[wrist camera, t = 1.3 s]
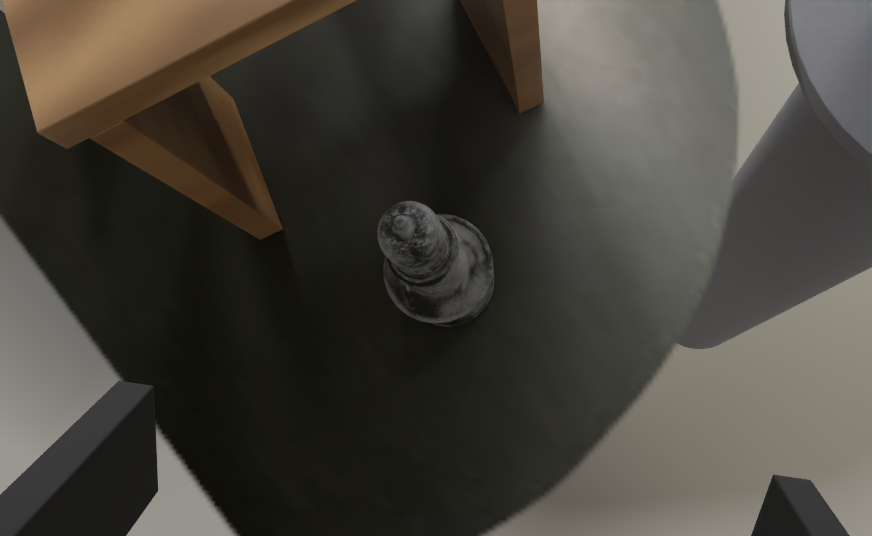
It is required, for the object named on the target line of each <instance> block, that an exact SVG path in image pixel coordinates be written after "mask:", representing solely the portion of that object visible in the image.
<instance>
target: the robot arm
mask: <svg viewBox="0 0 872 536" xmlns="http://www.w3.org/2000/svg"><path fill="white" fill-rule="evenodd" d="M156 453H157V452H156V427H155V402H154V386H151V385H144V384H137V383H130V382H123V381H118V382H117V383H116V384H115V385H114V386H113V387H112V388H111V389H110V390H109V391H108V392H107V393H106V394H105V395H104V396H103V397H102V398H101V399H100V400H98V401H97V402H96V403H95V404H94V405H93V406H92V407H91V408H90V409H89V410H88V411H87V412H86V413H85V414H84V415H83V416H82V417H81V418H80V419H79V420H78V421H77V422H76V423H74V424H73V425H72V426H71V427H70V428H69V429H68V430H67V431H66V432H65V433H64V434H63V435H62V436H61V437H60V438H59V439H58V440H57V441H56V442H55V443H54V444H53V445H52V446H51V447H50V448H48V449H47V450H46V451H45V452H44V453H43V455H41V456H40V457H39V458H38V459H37V460H36V461H35V462H34V463H33V464H32V465H31V466H30V467H29V468H28V469H27V470H26V471H25V472H24V473H22V474H21V476H19V477H18V478H17V479H16V480H15V481H14V482H13V483H12V484H11V485H10V486H9V487H8V488H7V489H6V490H5V491H4V492H3V493H2V494H1V495H0V536H126V535H127V533H128V532H129V531H130V529H131V528H132V526H133V525H134V524H135V522H136V521H137V520H138V518H139V517H140V515H141V514H142V513H143V511H144V510H145V508H146V507H147V505H148V504H149V503H150V501H151V500H152V498H153V497H154V496H155V494H156V493H157V491H158V478H157V454H156ZM751 536H849V534H848V533H847V532H846V530H845V529H844V527H843V526H842V524H841V523H840V522H839V520H838V519H837V517H836V516H835V514H834V513H833V512H832V510H831V509H830V508H829V506H828V504H827V503H826V502H825V500H824V499H823V497H822V496H821V494H820V493H819V492H818V490H817V489H816V488H815V486H814V484H813V483H812V482H811V481H810V480H806V479H799V478H792V477H785V476H778V475H773V477H772V479H771V483H770V485H769V488H768V491H767V493H766V496H765V499H764V502H763V505H762V508H761V510H760V513H759V516H758V519H757V521H756V524H755V527H754V530H753V532H752V535H751Z"/></svg>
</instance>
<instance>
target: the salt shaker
mask: <svg viewBox="0 0 872 536" xmlns="http://www.w3.org/2000/svg"><path fill="white" fill-rule="evenodd" d="M377 236H378V242H379V245H380V248H381V250H382V252H383V253H384V255H385V260H384V266H383V273H384V283H385V286H386V288H387V291H388V294H389V296H390V297H391V299H392V300H393V302H394V303H395V305H396V306H397V307H398V308H399V309H401V310H402V311H403V312H404V313H405V314H407V315H408V316H410V317H412V318H415V319H417V320H419V321H422V322H428V323H431V324H433V325H437V326H443V327H451V326H459V325H462V324H464V323H467V322H470V321H471V320H473V319H474V318H475V317H477V316H478V315H479V314H480V313H481V312H482V311H483V310H484V309H485V307H486V306H487V305H488V303H489V301H490V298H491V296H492V294H493V289H494V283H495V281H494V271H493V269H494V268H493V258H492V253H491V250H490V248H489V245H488V242H487V240H486V239H485V237H484V236H483V235H482V234H481V232H480V231H479V230H478V229H477V228H476V227H475V226H473V225H472V224H471V223H469V222H468V221H467V220H464V219H462V218H459V217H457V216H454V215H446V214H435V213H434V212H433V210H431V209H430V208H429V207H427V206H426V205H424V204H421V203H419V202H416V201H403V202H399V203H397V204H394V205H393V206H391V207H390V208H389V209H387V211H386V212H385V213H384V214H383V215H382V217H381V219H380V222H379V224H378V230H377Z"/></svg>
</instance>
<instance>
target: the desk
mask: <svg viewBox="0 0 872 536" xmlns="http://www.w3.org/2000/svg"><path fill="white" fill-rule="evenodd" d="M355 1H357V0H2V4H3V7H4V11H5V15H6V18H7V22H8V26H9V29H10V33H11V37H12V40H13V44H14V48H15V52H16V55H17V59H18V63H19V66H20V70H21V74H22V77H23V81H24V85H25V88H26V92H27V96H28V100H29V103H30V107H31V111H32V114H33V118H34V122H35V125H36V129H37V132H38V133H39V134H41V135H43V136H44V137H46V138H48V139H50V140H52V141H53V142H55V143H57V144H59V145H61V146H63V147H64V148H66V149H69V148H70V147H72V146H74V145H76V144H78V143H80V142H82V141H84V140H86V139H88V138H90V139H91V140H93V141H95V142H96V143H98V144H100V145H101V146H103V147H105V148H107V149H108V150H110V151H112V152H113V153H115V154H117V155H118V156H120V157H122V158H123V159H125V160H127V161H128V162H130V163H132V164H133V165H135V166H137V167H138V168H140V169H142V170H143V171H145V172H147V173H149V174H150V175H152V176H154V177H155V178H157V179H159V180H160V181H162V182H164V183H165V184H167V185H169V186H170V187H172V188H174V189H175V190H177V191H179V192H180V193H182V194H184V195H185V196H187V197H189V198H190V199H192V200H194V201H196V202H197V203H199V204H201V205H202V206H204V207H206V208H207V209H209V210H211V211H212V212H214V213H216V214H217V215H219V216H221V217H222V218H224V219H226V220H227V221H229V222H231V223H232V224H234V225H236V226H237V227H239V228H241V229H243V230H244V231H246V232H248V233H249V234H251V235H253V236H254V237H256V238H258V239H259V240H262V239H264V238H266V237H268V236H270V235H272V234H274V233H276V232H279V231H281V230H282V229H283V228H282V225H281V223H280V220H279V218H278V215H277V212H276V210H275V207H274V204H273V202H272V199H271V196H270V194H269V191H268V189H267V186H266V183H265V181H264V178H263V175H262V173H261V170H260V167H259V165H258V162H257V160H256V157H255V154H254V152H253V149H252V146H251V144H250V141H249V138H248V136H247V133H246V130H245V128H244V125H243V123H242V120H241V117H240V115H239V112H238V109H237V107H236V104H235V101H234V99H233V98H232V97H231V96H230V95H229V94H228V93H227V92H226V91H225V90H224V89H222V88H221V87H220V86H219V85H218V84H217V83H216V82H215V81H214V80H213V79H212V78H211V77H210V76H211V75H213V74H215V73H216V72H218V71H220V70H222V69H224V68H226V67H228V66H230V65H232V64H234V63H236V62H238V61H240V60H242V59H244V58H246V57H248V56H250V55H252V54H253V53H255V52H257V51H259V50H261V49H263V48H265V47H267V46H269V45H271V44H273V43H275V42H277V41H279V40H281V39H283V38H285V37H287V36H288V35H290V34H292V33H294V32H296V31H298V30H300V29H302V28H304V27H306V26H308V25H310V24H312V23H314V22H316V21H318V20H320V19H322V18H324V17H325V16H327V15H329V14H331V13H333V12H335V11H337V10H339V9H341V8H343V7H345V6H347V5H349V4H351V3H353V2H355ZM460 1H461V3H462V5H463V7H464V9H465V11H466V12H467V14H468V16H469V18H470V20H471V22H472V24H473V26H474V28H475V30H476V31H477V33H478V35H479V37H480V39H481V41H482V43H483V45H484V47H485V49H486V51H487V52H488V54H489V56H490V58H491V60H492V62H493V64H494V66H495V68H496V70H497V71H498V73H499V75H500V77H501V79H502V81H503V83H504V85H505V87H506V89H507V90H508V92H509V94H510V96H511V98H512V100H513V102H514V104H515V106H516V108H517V109H518V111H519V113H522V112H524V111H527V110H529V109H531V108H533V107H535V106H537V105H539V104H541V103H543V102H544V96H543V82H542V67H541V53H540V39H539V25H538V11H537V0H460Z"/></svg>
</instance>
